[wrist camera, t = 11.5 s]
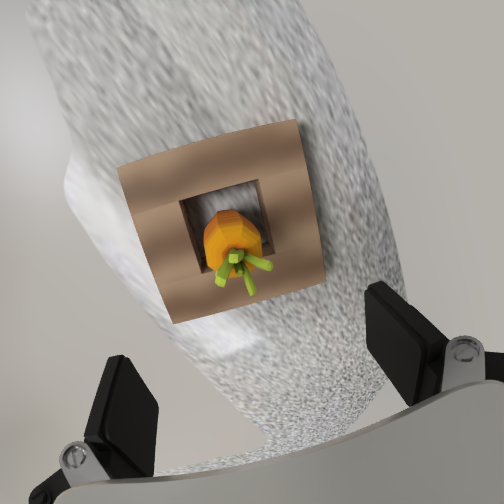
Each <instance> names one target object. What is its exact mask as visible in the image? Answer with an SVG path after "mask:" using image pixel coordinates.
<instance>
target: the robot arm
mask: <svg viewBox="0 0 504 504" xmlns="http://www.w3.org/2000/svg"><path fill="white" fill-rule="evenodd" d="M364 298H365V317H366V344H367V347H368V350H369V351H370V353H371V354H372V356H373V357H374V358H375V360H376V361H377V363H378V364H379V365H380V367H381V368H382V370H383V371H384V372H385V374H386V375H387V377H388V378H389V379H390V381H391V382H392V384H393V385H394V386H395V388H396V389H397V391H398V392H399V394H400V395H401V397H402V398H403V399H404V401H405V402H406V404H407V405H408V406H409V407H410V408H407V409H405V410H403V411H401V412H399V413H397V414H394V415H392V416H390V417H388V418H386V419H383V420H381V421H379V422H376V423H374V424H372V425H370V426H367V427H365V428H362V429H360V430H357V431H355V432H352V433H350V434H347V435H344V436H341V437H339V438H336V439H333V440H330V441H327V442H324V443H321V444H318V445H315V446H312V447H309V448H306V449H303V450H299V451H296V452H292V453H289V454H285V455H282V456H278V457H274V458H270V459H266V460H262V461H258V462H253V463H249V464H244V465H239V466H234V467H228V468H223V469H217V470H211V471H204V472H197V473H189V474H181V475H171V476H159V477H153V475H154V462H155V445H156V434H157V423H158V413H159V407H158V403H157V401H156V400H155V398H154V397H153V395H152V394H151V392H150V391H149V389H148V388H147V386H146V384H145V383H144V381H143V380H142V378H141V377H140V375H139V373H138V372H137V370H136V369H135V367H134V365H133V364H132V362H131V360H130V359H129V358H128V357H125V356H124V355H117V356H112V357H109V358H108V360H107V363H106V366H105V369H104V372H103V375H102V378H101V381H100V384H99V387H98V390H97V393H96V396H95V399H94V402H93V406H92V409H91V412H90V416H89V419H88V423H87V426H86V429H85V433H84V437H85V439H84V442H82V441H75V442H72V443H70V444H68V445H67V446H66V447H65V448H64V449H63V450H62V452H61V454H60V457H59V462H60V466H61V469H59V470H58V471H57V472H55V473H54V474H53V475H52V476H50V477H49V478H48V479H46V480H45V481H44V482H42V483H41V484H40V485H38V486H37V487H36V488H35V489H34V490H33V491H32V492H31V494H30V497H29V504H504V353H497V352H485V351H484V347H483V345H482V343H481V342H480V341H479V340H477V339H476V338H474V337H471V336H459V337H455V338H453V339H452V340H449V339H448V338H446V336H445V335H443V334H442V333H441V332H440V331H439V330H438V329H437V328H436V327H435V326H434V325H433V324H432V323H431V322H430V321H429V320H428V319H426V318H425V317H424V316H423V315H422V314H421V313H420V312H419V311H418V310H417V309H415V308H414V307H413V306H412V305H409V304H408V303H407V302H406V301H405V300H404V299H403V298H402V297H400V296H399V295H398V294H397V293H396V292H395V291H394V290H393V289H391V288H390V287H389V286H388V285H387V284H386V283H385V282H383V281H379V282H376V283H373V284H370V285H369V286H368V288H367V290H365V292H364Z"/></svg>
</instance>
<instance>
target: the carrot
mask: <svg viewBox="0 0 504 504" xmlns="http://www.w3.org/2000/svg"><path fill="white" fill-rule="evenodd" d="M204 248H205V254H206V260H207V265H208V267H210V268H211V269H213V270H214V271H216V273H215V276H216V279H215V283H216V284H217V285H218V286H220V287H224V286H225V284H226V282H227V280H228V278H235V277H241V276H243V277H244V281H245V284H246V287H247V290H248V292H249V294H250V296H253V295H254V294H255V293H256V291H257V290H256V286H255V284H254V281H253V279H252V276H251V274H250V273H251V272H252V271H253V269H254V268H255V267H258V268H260V269H263V270H266V271H271V270H272V269H273V266H274V264H273V263H272V262H270V261H268V260H265V259H262V258H263V255H262V244H261V235H260V233H259V232H258V230H257V229H256V227H255V226H254V225H253V224H252V223H251V222H250V221H249V220H247V219H246V218H245V217H243V216H242V215H241V214H239V213H238V212H237V211H235V210H232V209H230V210H223V211H218V212H217V213H216V214H215V216H214V217H213V218H212V219H211V221H210V222H209V223H208V225H207V226H206V228H205V231H204Z"/></svg>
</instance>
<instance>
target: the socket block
mask: <svg viewBox="0 0 504 504" xmlns="http://www.w3.org/2000/svg"><path fill="white" fill-rule="evenodd" d="M117 171H118V175H119V178H120V182H121V185H122V188H123V191H124V195H125V198H126V201H127V204H128V207H129V210H130V213H131V216H132V219H133V222H134V225H135V228H136V231H137V234H138V236H139V239H140V242H141V245H142V248H143V250H144V253H145V256H146V258H147V261H148V264H149V266H150V269H151V271H152V274H153V277H154V279H155V282H156V284H157V287H158V289H159V292H160V294H161V296H162V299H163V301H164V304H165V306H166V308H167V311H168V313H169V315H170V318H171V320H172V322H173V324H177V323H181V322H185V321H189V320H192V319H196V318H200V317H204V316H208V315H212V314H216V313H219V312H223V311H227V310H230V309H234V308H238V307H241V306H245V305H249V304H252V303H256V302H259V301H263V300H266V299H270V298H273V297H276V296H280V295H283V294H287V293H290V292H293V291H297V290H300V289H303V288H307V287H310V286H313V285H316V284H320V283H323V282H326V274H325V267H324V261H323V254H322V248H321V242H320V236H319V230H318V224H317V218H316V213H315V207H314V202H313V196H312V191H311V186H310V181H309V176H308V171H307V166H306V161H305V156H304V152H303V147H302V143H301V138H300V134H299V129H298V125H297V121H296V119H292V120H287V121H282V122H277V123H272V124H267V125H262V126H258V127H253V128H249V129H245V130H240V131H236V132H232V133H228V134H224V135H220V136H216V137H212V138H209V139H205V140H201V141H198V142H194V143H191V144H187V145H184V146H181V147H177V148H174V149H171V150H168V151H164V152H161V153H158V154H155V155H152V156H149V157H146V158H143V159H140V160H137V161H134V162H132V163H129V164H126V165H123V166H121V167H118V168H117ZM252 180H254V183H255V187H256V191H257V196H258V200H259V204H260V208H261V212H262V216H263V221H264V225H265V229H266V233H267V238H268V242H266V243H262V255H263V258H262V259H265V260H268V261H270V262H272V263H273V264H274V266H273V269H272V270H271V271H266V270H263V269H260V268H258V267H255V268H254V269H253V271H252V272H251V273H250V274H251V276H252V279H253V281H254V284H255V286H256V290H257V291H256V293H255V294H254V295H253V296H250V294H249V292H248V290H247V287H246V284H245V281H244V277H243V276H241V277H235V278H228V280H227V282H226V284H225V286H224V287H220V286H218V285H217V284H216V283H215V279H216V276H215V273H216V271H214V270H213V269H211V268H210V267H208V265H207V260H206V259H204V260H202V259H201V256H200V252H199V249H198V246H197V243H196V240H195V237H194V233H193V230H192V227H191V224H190V220H189V217H188V214H187V211H186V207H185V204H184V201H183V199H186V198H190V197H193V196H196V195H200V194H203V193H207V192H210V191H214V190H218V189H221V188H225V187H229V186H232V185H236V184H240V183H244V182H248V181H252Z"/></svg>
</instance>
